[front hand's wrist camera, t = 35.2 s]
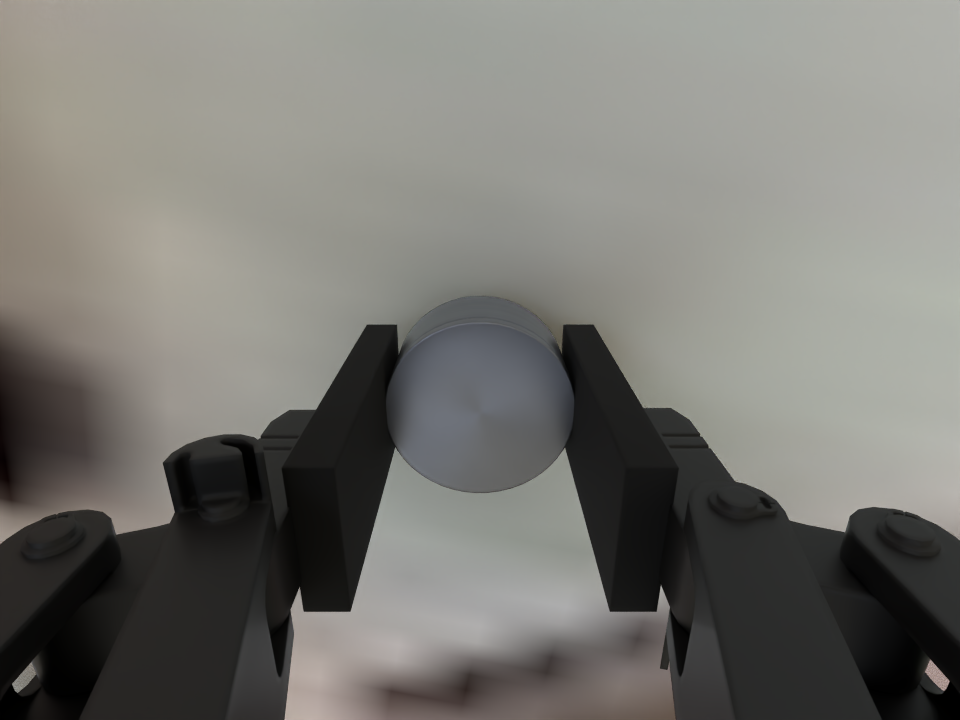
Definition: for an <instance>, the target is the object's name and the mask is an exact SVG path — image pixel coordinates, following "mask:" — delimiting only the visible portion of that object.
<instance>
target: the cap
mask: <svg viewBox="0 0 960 720" xmlns="http://www.w3.org/2000/svg"><path fill="white" fill-rule="evenodd" d="M574 402H575V393H574V389H573V385H572V382H571V379H570V376H569V373H568V371H567V368H566V365H565V362H564V360H563V357H562V354H561V352H560V349H559V347H558V344H557V342H556V340H555V338H554V336H553V335H552V333H551V331H550V330H549V329H548V328H547V326H546V325H545V324H544V323H543V322H542V321H541V320H540V319H539V318H538V317H537V316H536V315H535V314H533V313H532V312H530V311H529V310H528V309H526V308H524V307H522V306H520V305H519V304H516V303H514V302H511V301H509V300H505V299H501V298H497V297H489V296H470V297H463V298H459V299H455V300H452V301H449V302H447V303H444V304H442V305H440V306H438V307H436V308H435V309H433V310H431V311H430V312H428V313H427V314H426V315H425V316H423V317H422V318H421V319H420V320H419V321H418V322H417V323H416V324H415V325H414V327H413V328H412V329H411V331H410V332H409V333H408V335H407V337H406V339H405V341H404V343H403V345H402V348H401V350H400V353H399V356H398V358H397V361H396V364H395V366H394V369H393V372H392V374H391V377H390V380H389V382H388V385H387V389H386V411H387V425H388V432H389V434H390V437H391V439H392V441H393V443H394V445H395V447H396V449H397V450H398V452H399V453H400V454H401V456H402V457H403V458H404V460H405V461H406V462H407V463H408V464H409V465H410V466H411V467H412V468H413V469H415V470H416V471H417V472H418V473H420V474H421V475H422V476H424V477H426V478H427V479H429V480H431V481H433V482H435V483H437V484H439V485H441V486H444V487H447V488H450V489H454V490H458V491H463V492H472V493H489V492H497V491H502V490H506V489H511V488H513V487H516V486H519V485H522V484H524V483H526V482H528V481H530V480H532V479H533V478H535V477H536V476H538V475H539V474H541V473H542V472H543V471H544V470H546V469H547V468H548V467H549V466H550V465H551V464H552V463H553V462H554V461H555V460H556V459H557V458H558V456H559V455H560V453H561V452H562V451H563V449H564V448H565V446H566V444H567V442H568V440H569V438H570V435H571V432H572V429H573V417H574Z"/></svg>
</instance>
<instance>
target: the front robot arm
mask: <svg viewBox="0 0 960 720" xmlns="http://www.w3.org/2000/svg"><path fill="white" fill-rule="evenodd" d="M398 356H399V352H398V335H397V325H367V326H366V327H365V329H364V331H363V332H362V334H361V336H360V337H359V339H358V341H357V342H356V344H355V346H354V347H353V349H352V351H351V352H350V354H349V356H348V357H347V359H346V361H345V362H344V364H343V366H342V367H341V369H340V371H339V372H338V374H337V376H336V377H335V379H334V381H333V383H332V384H331V386H330V388H329V389H328V391H327V393H326V394H325V396H324V398H323V399H322V401H321V403H320V404H319V406H318V408H317V409H316V410H289V411H287V412H286V413H284V414H283V415H281V416H279V417H278V418H276V419H275V420H273V421H272V422H271V423H270V424H269V425H268V427H267V428H266V429H265V431H264V432H263V434H262V435H261V439H258V440H257V439H256V438H254V437H250V436H246V435H241V434H228V435H218V436H213V437H207V438H203V439H201V440H198V441H195V442H192V443H189V444H187V445H185V446H183V447H181V448H180V449H178V450H176V451H175V452H173V453H172V454H171V455H170V456H169V457H168V458H167V459H166V460H165V461H164V462H163V466H164V470H165V474H166V478H167V482H168V486H169V490H170V494H171V498H172V502H173V506H174V510H175V513H174V516H173V518H172V520H171V522H170V523H169V524H165V525H161V526H158V527H153V528H148V529H143V530H138V531H133V532H128V533H123V534H118V535H116V533H115V530H114V526H113V523H112V520H111V518H110V517H108V516H107V515H106V514H105V513H103V512H100V511H93V510H79V511H67V512H62V513H58V514H57V515H56V514H54V515H51V516H48V517H45V518H43V519H41V520H40V521H38V522H35V523H33V524H31V525H29V526H26V527H24V528H23V529H21V530H20V531H18V532H17V533H15V534H14V535H12V536H11V537H9V538H8V539H6V540H5V541H4V542H3V543H1V544H0V720H284V718H285V709H286V700H287V691H288V682H289V673H290V664H291V655H292V646H293V637H294V630H293V623H292V617H291V611H290V609H291V607H292V604H293V602H294V599H295V597H296V594H297V592H298V589H299V587H300V590H301V597H302V603H303V610H304V612H350V611H351V608H352V604H353V600H354V597H355V593H356V589H357V586H358V582H359V578H360V575H361V571H362V567H363V564H364V560H365V556H366V553H367V549H368V545H369V542H370V538H371V534H372V531H373V527H374V523H375V519H376V516H377V512H378V508H379V505H380V501H381V497H382V494H383V490H384V486H385V483H386V479H387V475H388V472H389V468H390V464H391V461H392V457H393V453H394V450H395V445H394V443H393V441H392V439H391V437H390V434H389V432H388V425H387V411H386V389H387V385H388V382H389V380H390V377H391V374H392V372H393V369H394V366H395V364H396V361H397V358H398ZM562 357H563V360H564V362H565V365H566V368H567V371H568V373H569V376H570V379H571V382H572V385H573V389H574V393H575V402H574V417H573V429H572V432H571V435H570V438H569V440H568V442H567V444H566V446H565V448H566V452H567V456H568V459H569V463H570V467H571V470H572V474H573V478H574V481H575V485H576V489H577V492H578V496H579V500H580V503H581V507H582V511H583V514H584V518H585V522H586V525H587V529H588V533H589V537H590V540H591V544H592V548H593V551H594V555H595V559H596V562H597V566H598V570H599V573H600V577H601V581H602V584H603V588H604V592H605V595H606V599H607V603H608V606H609V610H610V612H657V606H658V599H659V593H660V586H662V588H663V591H664V593H665V596H666V598H667V601H668V603H669V606H670V611H669V617H668V623H667V629H666V635H665V641H664V647H663V653H662V659H661V666H660V669H666V670H668V664H669V663H670V672H671V681H672V690H673V699H674V708H675V716H676V720H960V540H959V539H957V538H956V537H955V536H953V535H952V534H950V533H949V532H947V531H946V530H944V529H943V528H941V527H940V526H938V525H936V524H934V523H932V522H930V521H927V520H925V519H923V518H921V517H919V516H918V515H915V514H912V513H909V512H903V511H901V510H896V509H888V508H877V507H871V508H865V509H859V510H857V511H856V512H855V513H853V514H852V515H851V516H850V518H849V521H848V525H847V528H846V531H845V532H840V531H835V530H830V529H825V528H820V527H815V526H810V525H805V524H801V523H797V522H793V521H789V519H788V517H787V515H786V512H785V511H784V510H783V508H782V507H781V506H780V504H779V503H778V502H777V501H776V500H775V499H773V498H772V497H770V496H769V495H767V494H766V493H765V492H763V491H761V490H759V489H756V488H754V487H751V486H749V485H747V484H743V483H738V482H735V481H734V480H733V478H732V477H731V476H730V474H729V473H728V471H727V470H726V469H725V467H724V466H723V465H722V463H721V462H720V461H719V459H718V458H717V456H716V455H715V454H714V452H713V451H712V450H711V448H708V444H707V443H706V442H705V440H704V439H703V437H700V433H699V432H698V431H697V429H696V428H695V427H694V425H693V424H692V422H691V421H690V420H689V419H687V418H686V417H684V416H682V415H681V414H679V413H678V412H676V411H675V410H673V409H671V408H643V407H642V405H641V404H640V402H639V400H638V399H637V397H636V395H635V394H634V392H633V390H632V389H631V387H630V385H629V384H628V382H627V380H626V379H625V377H624V375H623V373H622V372H621V370H620V368H619V367H618V365H617V363H616V362H615V360H614V358H613V357H612V355H611V353H610V352H609V350H608V348H607V347H606V345H605V343H604V342H603V340H602V338H601V337H600V335H599V333H598V332H597V330H596V328H595V327H594V325H563V341H562ZM930 659H931V660H932V662H933V663H934V664H935V665H936V666H937V667H938V668H939V669H940V670H941V672H942V673H943V674H944V675H945V676H946V677H947V678H948V679H949V681H950V682H949V685H948V687H947V689H946V690H945V691H942V690H941V689H940V688H939V687H938V686H937V685H936V684H935V683H934V682H933V681H932V680H931V679H930V678H929V676H928V675H927V674H926V673H925V670H926V668H927V666H928V663H929V661H930ZM31 662H32V664H33V667H34V669H35V672H36V675H35V677H34V678H33V679H32V680H31V681H30V683H29V684H28V685H27V686H26V687H24V688H23V689H22V690H21V691H20V692H18V693H17V692H16V691H15V690H14V688H13V686H12V683H13V682H14V681H15V680H16V679H17V678H18V676H19V675H20V674H21V673H22V672H23V671H24V670H25V668H26V667H27V666H28V665H29V664H30V663H31Z"/></svg>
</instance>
